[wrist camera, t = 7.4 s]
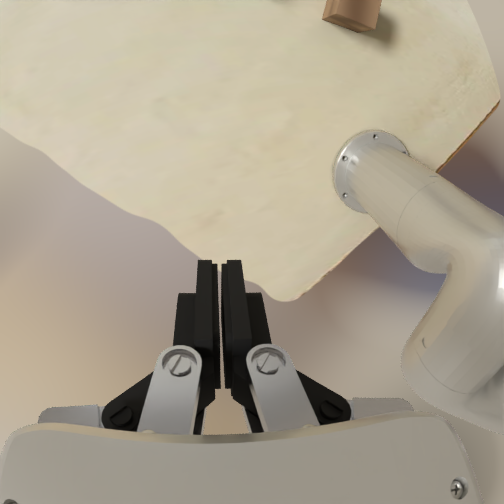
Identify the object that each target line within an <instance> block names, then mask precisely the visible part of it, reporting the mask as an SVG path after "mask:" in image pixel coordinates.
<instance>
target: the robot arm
mask: <svg viewBox="0 0 504 504" xmlns="http://www.w3.org/2000/svg"><path fill="white" fill-rule="evenodd" d="M373 136H374V137H373ZM343 156H344V158H342V157H343ZM333 182H334V187H335V190H336V192H337V194H338V196H339V197H340V199H341V200H342V201H343V202H344V203H345V204H346V205H347V206H348V207H350V208H351V209H353V210H355V211H357V212H362V213H368V214H369V215H370V216H371V217H372V218H373V219H374V220H375V221H376V223H377V224H378V225H379V226H380V227H381V228H382V229H383V231H384V232H385V233H386V234H387V235H388V236H389V237H390V239H391V240H392V241H393V242H394V244H395V245H396V246H397V247H398V248H399V249H400V250H401V251H402V253H403V254H404V255H405V257H406V258H407V259H408V260H409V261H410V262H411V263H412V264H413V265H414V266H416V267H417V268H419V269H421V270H423V271H426V272H430V273H447V276H446V279H445V281H444V283H443V285H442V287H441V289H440V290H439V292H438V294H437V297H436V298H435V300H434V301H433V303H432V304H431V306H430V307H429V309H428V311H427V312H426V313H425V315H424V316H423V318H422V319H421V321H420V322H419V324H418V325H417V327H416V328H415V329H414V331H413V332H412V334H411V335H410V337H409V339H408V340H407V342H406V344H405V346H404V348H403V352H402V356H401V368H402V372H403V375H404V377H405V380H406V381H407V383H408V384H409V386H410V387H411V388H412V389H413V391H414V392H415V393H416V394H417V395H418V396H420V397H421V398H422V399H423V400H425V401H427V402H428V403H430V404H431V405H433V406H435V407H436V408H439V409H441V410H443V411H445V412H447V413H449V414H452V415H454V416H456V417H458V418H461V419H463V420H465V421H468V422H470V423H473V424H475V425H477V426H480V427H482V428H485V429H487V430H490V431H493V432H495V433H498V434H502V435H504V216H502V215H500V214H498V213H497V212H495V211H493V210H492V209H490V208H488V207H486V206H485V205H483V204H482V203H480V202H479V201H477V200H476V199H474V198H472V197H471V196H470V195H468V194H467V193H465V192H464V191H462V190H461V189H460V188H458V187H456V186H455V185H453V184H452V183H451V182H449V181H448V180H446V179H445V178H443V177H442V176H440V175H439V174H437V173H435V172H434V171H432V170H431V169H429V168H427V167H426V166H424V165H423V164H421V163H419V162H418V161H416V160H414V159H413V158H411V157H409V155H408V152H407V150H406V148H405V146H404V145H403V144H402V143H401V141H400V140H398V139H397V138H396V137H395V136H393V135H391V134H389V133H386V132H384V131H378V130H371V131H365V132H362V133H359V134H357V135H356V136H354V137H352V138H351V139H350V140H349V141H347V142H346V144H345V145H344V146H343V147H342V148H341V150H340V152H339V153H338V155H337V157H336V160H335V163H334V168H333ZM197 270H198V271H197V285H196V293H179V295H178V302H177V310H176V320H175V331H174V340H173V346H172V347H169V348H167V349H165V350H164V351H163V352H162V353H161V354H160V355H159V358H158V359H157V363H156V366H155V369H154V371H153V372H152V373H151V374H149V375H148V376H146V377H145V378H144V379H142V380H141V381H139V382H138V383H136V384H135V385H134V386H132V387H131V388H129V389H128V390H126V391H125V392H124V393H122V394H121V395H119V396H118V397H116V398H115V399H114V400H112V401H111V402H109V403H108V404H107V405H106V406H103V407H99V406H98V405H85V406H70V407H52V408H47V409H46V410H44V411H43V412H42V413H41V414H40V416H39V420H38V424H32V425H28V426H25V427H22V428H20V429H17V430H16V431H14V432H13V433H12V434H11V435H10V436H9V437H8V439H7V441H6V443H5V445H4V447H3V450H2V453H1V456H0V504H484V501H483V498H482V494H481V491H480V488H479V485H478V482H477V479H476V476H475V473H474V470H473V467H472V464H471V462H470V460H469V457H468V455H467V452H466V450H465V448H464V446H463V444H462V442H461V440H460V438H459V436H458V435H457V433H456V431H455V429H454V428H453V427H452V425H451V424H450V423H449V422H448V421H447V420H446V419H445V418H443V417H442V416H440V415H437V414H433V413H429V412H423V411H414V410H413V407H412V405H411V404H410V403H409V402H408V401H406V400H404V399H400V398H353V399H352V400H346V399H344V398H343V397H342V396H340V395H338V394H336V393H335V392H333V391H331V390H329V389H327V388H326V387H324V386H323V385H321V384H319V383H317V382H316V381H314V380H312V379H311V378H309V377H307V376H306V375H304V374H302V373H301V372H299V371H297V370H296V369H295V367H294V365H293V363H292V360H291V358H290V356H289V355H288V353H287V352H286V351H285V350H284V349H283V348H281V347H279V346H277V345H273V344H272V343H271V338H270V333H269V328H268V323H267V318H266V313H265V309H264V303H263V298H262V294H261V293H246V292H245V285H244V278H243V270H242V263H241V260H227V264H222V275H221V324H222V343H223V361H224V377H225V388H227V389H229V388H231V396H233V399H234V400H235V401H237V402H238V403H239V404H241V405H242V410H243V414H244V417H245V420H246V424H247V427H248V431H249V434H229V435H228V434H227V435H203V431H204V423H205V417H206V407H207V406H208V405H209V404H210V403H211V402H212V401H214V400H215V389H221V384H220V383H221V381H220V329H219V304H218V274H217V273H218V271H217V264H212V260H198V268H197Z"/></svg>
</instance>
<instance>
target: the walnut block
mask: <svg viewBox="0 0 504 504" xmlns="http://www.w3.org/2000/svg"><path fill="white" fill-rule="evenodd" d="M381 1H382V0H327V2H326V6H325V10H324V14H323V18H322V20H325V21H328V22H331V23H334V24H337V25H339V26H342V27H345V28H347V29H350V30H352V31H355V32H357V33H358V32H363V31H369V30H374V29H375V27H376V23H377V19H378V15H379V10H380V6H381Z"/></svg>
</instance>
